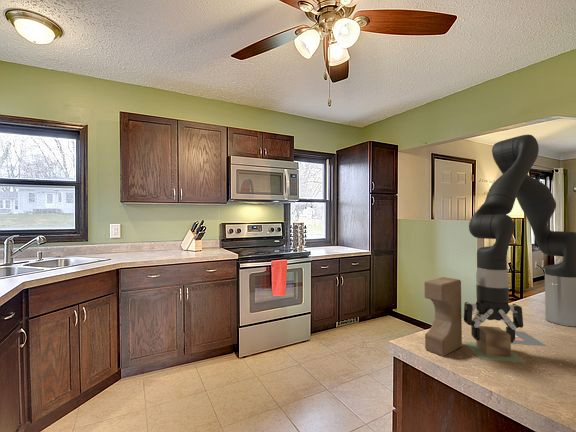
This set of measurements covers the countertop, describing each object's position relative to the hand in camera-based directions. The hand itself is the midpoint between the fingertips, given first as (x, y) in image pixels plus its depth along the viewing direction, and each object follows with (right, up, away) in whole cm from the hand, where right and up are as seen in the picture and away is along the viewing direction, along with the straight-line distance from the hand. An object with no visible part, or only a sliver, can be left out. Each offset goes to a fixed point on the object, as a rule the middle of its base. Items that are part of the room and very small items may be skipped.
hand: (492, 340), depth 81 cm
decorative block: (-13, -4, +2) cm, 14 cm away
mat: (0, -3, 0) cm, 3 cm away
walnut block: (0, -3, 0) cm, 3 cm away
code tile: (+14, -3, +10) cm, 17 cm away
